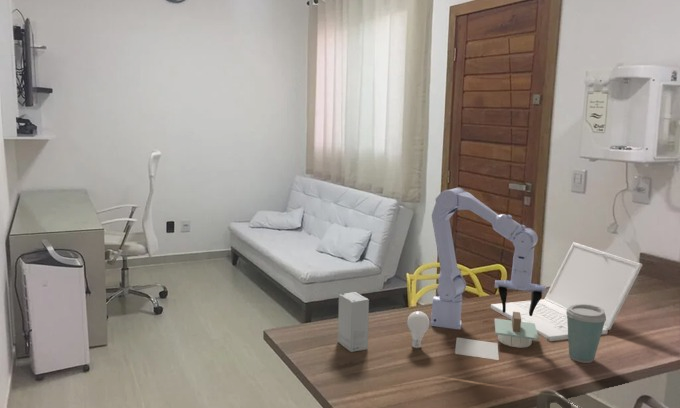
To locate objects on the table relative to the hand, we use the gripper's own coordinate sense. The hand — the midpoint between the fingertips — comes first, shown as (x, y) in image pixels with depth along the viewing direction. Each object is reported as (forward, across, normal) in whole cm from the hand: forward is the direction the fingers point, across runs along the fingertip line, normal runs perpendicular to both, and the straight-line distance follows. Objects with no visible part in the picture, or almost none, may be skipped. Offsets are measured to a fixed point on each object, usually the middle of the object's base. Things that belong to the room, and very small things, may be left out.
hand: (517, 313), depth 171 cm
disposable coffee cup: (+9, +18, -5) cm, 21 cm away
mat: (+9, -11, -10) cm, 17 cm away
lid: (+5, 0, 0) cm, 5 cm away
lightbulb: (+10, -28, -15) cm, 33 cm away
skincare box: (+10, -46, -20) cm, 51 cm away
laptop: (+10, +16, +27) cm, 33 cm away
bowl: (+9, 0, 0) cm, 9 cm away
